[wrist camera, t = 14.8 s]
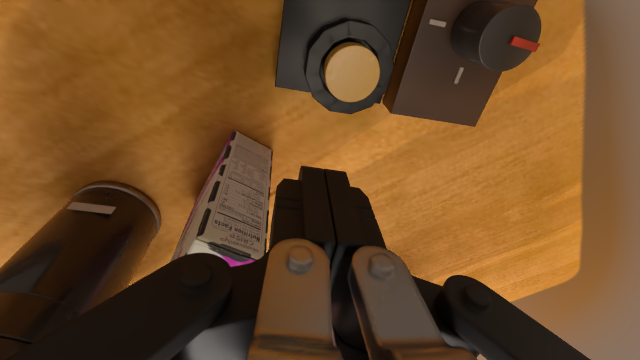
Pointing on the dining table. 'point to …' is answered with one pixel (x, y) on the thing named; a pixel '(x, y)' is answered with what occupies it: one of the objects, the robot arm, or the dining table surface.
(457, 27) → the dimmer knob
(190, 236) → the candy bar box
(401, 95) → the dimmer panel
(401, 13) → the lamp base
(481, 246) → the dining table surface
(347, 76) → the button
